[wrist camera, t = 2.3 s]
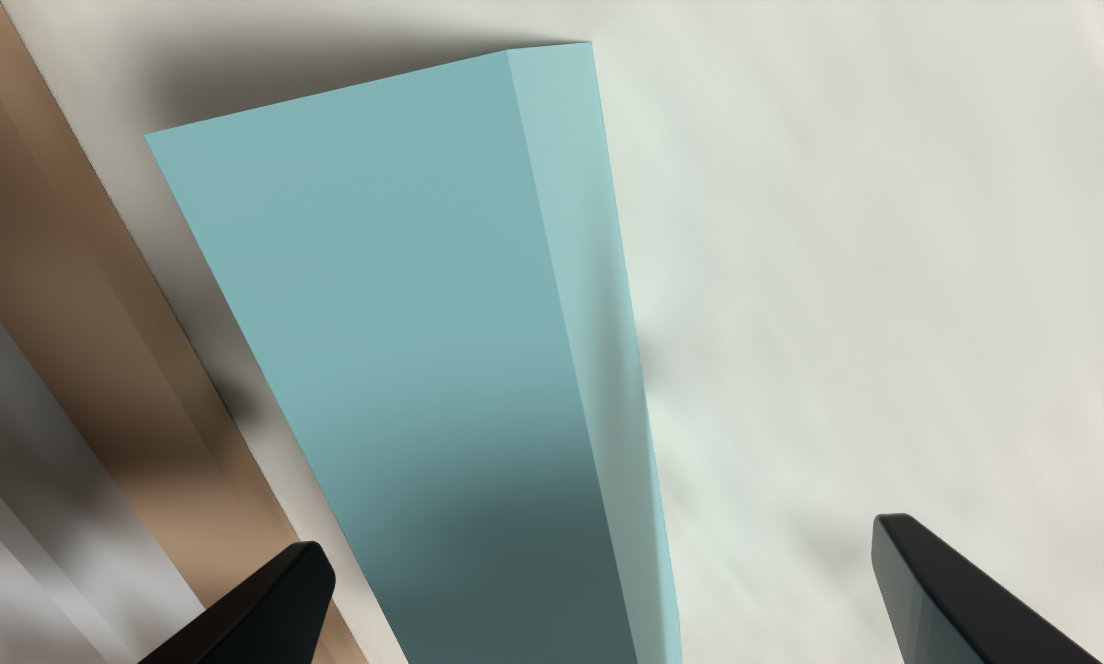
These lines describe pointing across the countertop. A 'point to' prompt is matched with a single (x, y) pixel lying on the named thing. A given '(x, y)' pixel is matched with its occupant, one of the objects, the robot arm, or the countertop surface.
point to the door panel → (452, 347)
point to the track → (107, 422)
